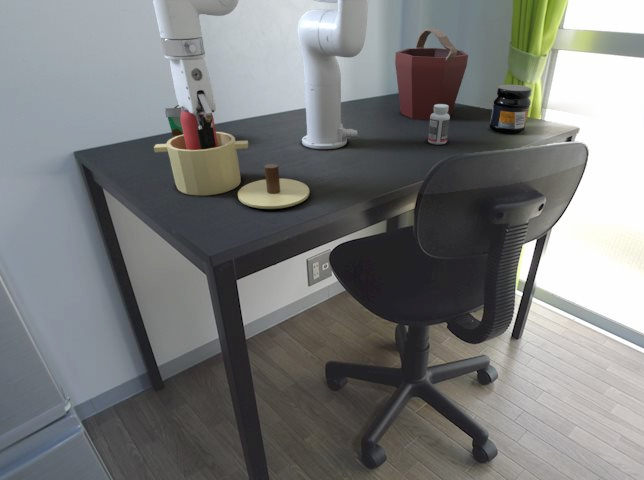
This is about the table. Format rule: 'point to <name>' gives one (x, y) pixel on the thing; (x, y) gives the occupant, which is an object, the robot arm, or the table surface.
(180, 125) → the food container
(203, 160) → the pot
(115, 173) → the table surface
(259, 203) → the lid
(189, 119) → the beer can
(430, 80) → the bucket
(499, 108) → the supplement container
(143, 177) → the table surface
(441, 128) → the pill bottle
